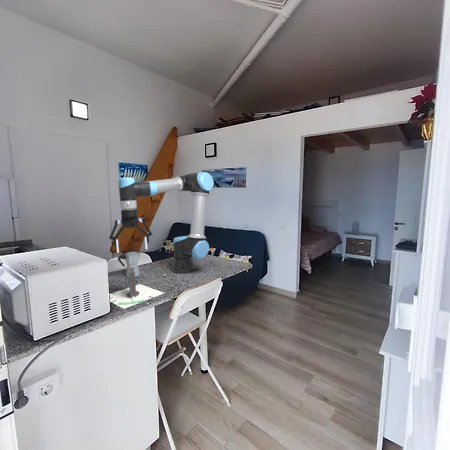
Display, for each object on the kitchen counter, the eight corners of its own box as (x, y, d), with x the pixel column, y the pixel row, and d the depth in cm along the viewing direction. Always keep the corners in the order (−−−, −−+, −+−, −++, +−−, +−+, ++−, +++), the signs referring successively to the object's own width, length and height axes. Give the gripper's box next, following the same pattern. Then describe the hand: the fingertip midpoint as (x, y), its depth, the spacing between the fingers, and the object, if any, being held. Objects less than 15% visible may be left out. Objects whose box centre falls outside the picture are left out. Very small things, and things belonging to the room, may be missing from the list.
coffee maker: (139, 272, 170) (138, 245, 167) (145, 274, 163) (143, 247, 161) (116, 277, 160) (114, 249, 158) (121, 280, 153) (119, 251, 151)
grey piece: (126, 292, 130) (124, 268, 129) (138, 290, 133) (137, 267, 131) (126, 302, 118) (124, 276, 116) (140, 300, 120) (138, 274, 118)
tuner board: (140, 286, 143) (140, 283, 143) (165, 295, 129) (164, 292, 129) (100, 299, 126) (100, 296, 126) (124, 311, 112) (124, 308, 112)
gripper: (100, 211, 118) (105, 255, 121) (155, 208, 127) (158, 249, 130) (101, 210, 125) (106, 252, 128) (153, 207, 134) (156, 246, 137)
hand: (132, 250), depth 129 cm, fingers open, 13 cm apart
